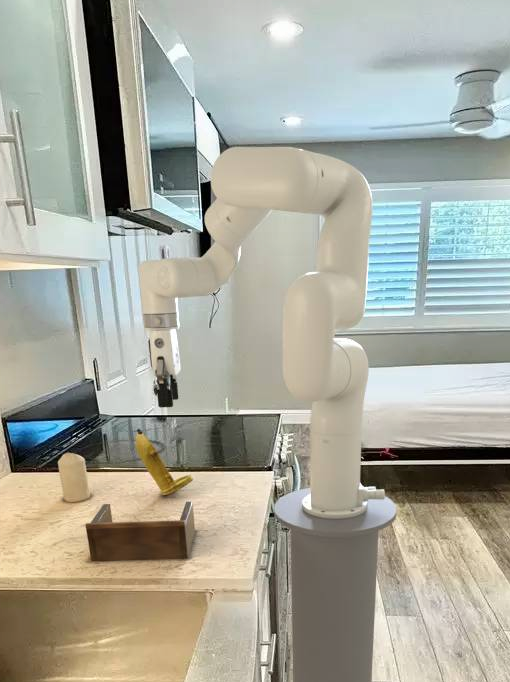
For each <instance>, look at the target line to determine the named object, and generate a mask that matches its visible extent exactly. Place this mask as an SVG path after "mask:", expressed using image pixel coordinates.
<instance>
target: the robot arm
mask: <svg viewBox="0 0 510 682" xmlns="http://www.w3.org/2000/svg"><path fill="white" fill-rule="evenodd" d="M210 187H211V190H212V193H213V194H214V196H215V197H216V198H215V199H214V200H213V202H212V203H211V204H210V206H209V207H208V208H207V210H206V211H205V214H204V225H205V227H206V230H207V232H208V234H209V235H210V237H211V238H212V239H213V241H214V243H213V244H212V245H211V246H210V248H209V249H208V250H206V253H204V254H203V255H202V256H201V257H166V258H163V259H150V260H149V259H147V260H143V261H140V263H139V264H138V267H137V271H138V281H139V290H140V291H139V293H140V301H141V311H142V320H143V329H144V331H149V347H150V358H151V367H152V374H153V376H154V377H156V394H157V395H156V396H157V406H158V407H159V408H173V406H174V400H175V401H177V400H178V399H179V389H178V381H177V375H178V374H179V373H180V372H181V370H182V367H181V358H180V349H179V341H178V334H177V330H179V329H180V319H179V307H178V298H179V299H181V298H188V297H189V298H193V297H207V296H210V295H212V294H214V293H216V292H217V291H218V290H219V289H220V288H221V287H222V286H223V285H224V284H225V283H226V282H227V281H228V280H229V279H230V278H231V277H232V275H233V274H234V273H235V271H236V269H237V268H238V265H239V262H240V257H241V250H242V249H241V248H242V245H243V244H244V243H245V242H246V241H247V240H248V239H249V237H250V236H251V235H252V234H253V233H254V232H255V231H256V229H257V228H258V227H259V226H260V225H261V224H262V223H263V222H264V221H265V220H266V219H267V217H268V216H270V214H271V213H272V212H273V211H283V212H290V213H300V214H307V215H309V214H311V215H319V216H322V217H323V218H324V222H323V224H322V227H321V229H320V232H319V235H318V239H317V246H316V265H315V266H316V267H315V271H310V272H307V273H304V274H302V275H300V276H299V277H297V278H296V279H295V280H294V281H293V282H292V283H291V284H290V287H289V288H288V290H287V292H286V295H285V298H284V302H283V309H282V350H281V351H282V354H281V356H282V358H281V365H282V366H281V367H282V377H283V378H282V379H283V382H284V385H285V387H286V389H287V391H288V392H289V394H290V395H291V396H292V397H293V398H294V399H295V400H297V401H299V402H302V403H306V404H308V403H309V404H311V403H312V404H311V409H310V418H309V427H310V428H309V480H310V481H309V488H310V495H308V496H307V497H305V498H304V499H303V501H302V508H303V510H304V511H306V512H307V513H308V514H310V515H313V516H316V517H320V518H326V519H345V518H351V517H355V516H358V515H361V514H362V513H364V512H365V511H366V510H367V501H368V499H375V500H380V499H384V498H385V496H386V493H385V489H377V488H376V486H364V485H362V483H361V469H362V466H361V464H362V460H361V459H362V437H363V435H362V434H363V433H362V432H363V414H364V403H365V402H364V401H365V395H366V390H367V384H368V379H369V372H370V371H369V369H370V368H369V367H370V365H369V360H368V356H367V354H366V351H365V350H364V348H363V347H362V346H361V345H360V344H359V343H357V342H356V341H354V340H352V339H348V338H343V337H342V338H341V337H340V338H338V337H337V338H335V335H336V333H337V332H343V331H347V330H349V329H352V328H354V327H356V326H357V325H358V324H359V323H360V322H361V321H362V319H363V317H364V315H365V311H366V302H367V290H368V274H369V260H370V258H369V257H370V239H371V238H370V237H371V229H372V228H371V227H372V222H373V221H372V220H373V209H374V207H373V206H374V205H373V196H372V191H371V188H370V185H369V182H368V181H367V179H366V178H365V176H364V174H362V172H361V171H359V169H357V168H356V167H355V166H353V165H352V164H350V163H348V162H346V161H345V160H342V159H339V158H336V157H334V156H331V155H327V154H323V153H318V152H314V151H309V150H306V149H302V148H298V147H293V146H292V147H291V146H233V147H230V148H227V149H225V150H224V151H223V152H222V153H220V154H219V156H218V157H217V158H216V159H215V161H214V163H213V166H212V168H211V172H210Z"/></svg>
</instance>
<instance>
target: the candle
mask: <svg viewBox="0 0 510 682" xmlns="http://www.w3.org/2000/svg"><path fill="white" fill-rule="evenodd" d="M57 466H58V472H59V477H60V483H61V489H62V495H63V499H64V501H65V502H71V503H74V502H83V501H86V500H88V499H89V498H90V497H91V491H90V485H89V478H88V471H87V465H86V459H85V458H84V457H83V456H81V455H79V454H76V453H72V452H66V453H64V454H62V456H61V457H60V458H59V459H58V461H57Z"/></svg>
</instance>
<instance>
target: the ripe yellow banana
mask: <svg viewBox="0 0 510 682" xmlns="http://www.w3.org/2000/svg"><path fill="white" fill-rule="evenodd" d="M136 431H137V434H136V435H135V447H136V451H137V454H138V456H139V459H141V461H142V463H143V465H144V466H145V468H146V470H147V472H148V473H149V474H150V476H151V477H152V478H153V480H154V482H155V484H156V485H157V487H158V488H159V490H160V493H161V494H162V496H169V495H171V494H173V493H175V492H177V491H179V490H181V489H182V488H184V487H186V486H188V485H189V484H190V483H191V482H193V480H194V478H193V477H192V475H191V474H188V475H184V476H182V477H180V478H176V479H174V478H173V477H172V474H171V473H170V471H169V470H168V469H167V467H166V465H165V463H164V462H163V460H162V458H161V456H160V454H159V451H158V449H156V448H155V446H154V445H153V443H152V442H151V441H150V439H149V438H148V437H147V435H145V433H143V430H141V428H137V429H136Z"/></svg>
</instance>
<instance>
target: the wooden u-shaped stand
mask: <svg viewBox="0 0 510 682" xmlns="http://www.w3.org/2000/svg"><path fill="white" fill-rule="evenodd" d="M85 530H86V531H85V532H86V538H87V544H88V550H89V556H90V561H91V562H103V561H104V562H106V561H134V560H135V561H136V560H137V561H138V560H169V559H170V560H171V559H188V558H189V555H190V552H191V547H192V544H193V541H194V537H195V533H196V526H195V514H194V501H185V504H184V507H183V510H182V512H181V516H180V519H179V520H178V519H176V520H175V519H174V520H146V521H144V520H143V521H113V514H112V509H111V504H110V503H103V504H102V506H101V507H100V508H99V510H98V512H97V513H96V514H95V516H94V517H93V518H92V520H91V521H90V522H86V523H85Z"/></svg>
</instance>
